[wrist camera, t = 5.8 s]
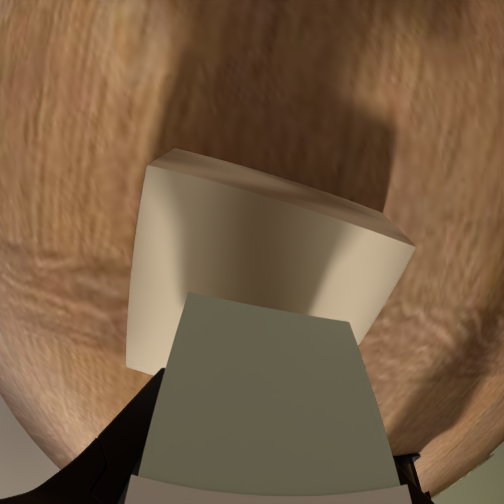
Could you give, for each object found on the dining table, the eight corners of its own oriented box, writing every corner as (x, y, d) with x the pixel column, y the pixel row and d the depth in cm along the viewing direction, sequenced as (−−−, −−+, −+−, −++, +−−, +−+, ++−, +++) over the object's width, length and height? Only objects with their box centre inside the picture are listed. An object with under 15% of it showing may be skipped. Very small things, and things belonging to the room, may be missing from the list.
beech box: (380, 210, 14) (416, 247, 10) (305, 355, 18) (313, 406, 15) (176, 146, 13) (147, 164, 9) (146, 317, 17) (126, 366, 14)
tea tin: (353, 319, 9) (412, 507, 4) (299, 411, 11) (312, 548, 6) (185, 288, 9) (124, 503, 3) (173, 392, 11) (144, 536, 5)
